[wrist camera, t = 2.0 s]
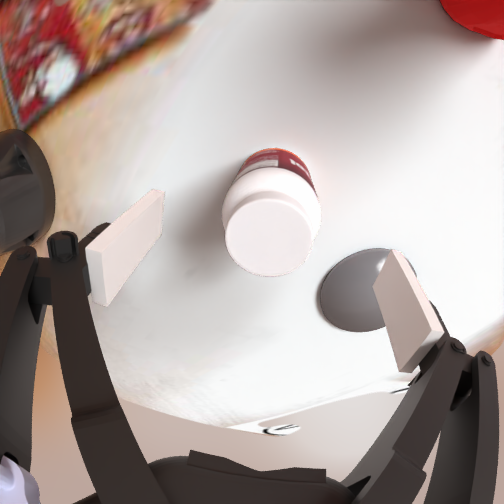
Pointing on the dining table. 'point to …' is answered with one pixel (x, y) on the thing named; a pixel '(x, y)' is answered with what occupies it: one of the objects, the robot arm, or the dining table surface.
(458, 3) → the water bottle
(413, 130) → the dining table surface
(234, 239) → the pill bottle
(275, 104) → the dining table surface
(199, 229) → the dining table surface
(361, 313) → the coaster
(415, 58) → the dining table surface
